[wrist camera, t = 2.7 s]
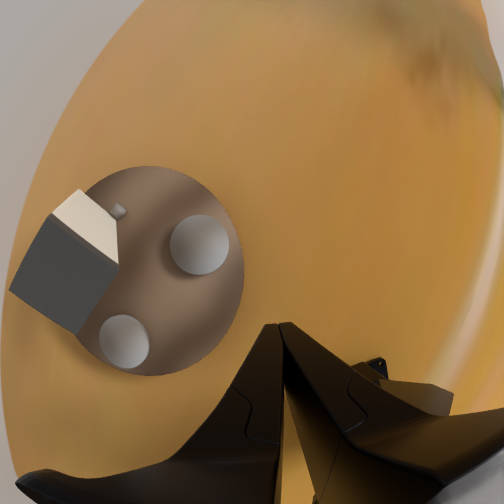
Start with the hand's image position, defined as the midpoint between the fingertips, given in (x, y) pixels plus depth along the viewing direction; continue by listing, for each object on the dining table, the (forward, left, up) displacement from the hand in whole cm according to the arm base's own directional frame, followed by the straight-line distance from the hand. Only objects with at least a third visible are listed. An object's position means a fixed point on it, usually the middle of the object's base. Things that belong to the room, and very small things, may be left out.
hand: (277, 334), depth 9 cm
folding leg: (+8, +11, -8) cm, 16 cm away
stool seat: (+4, +8, -12) cm, 15 cm away
